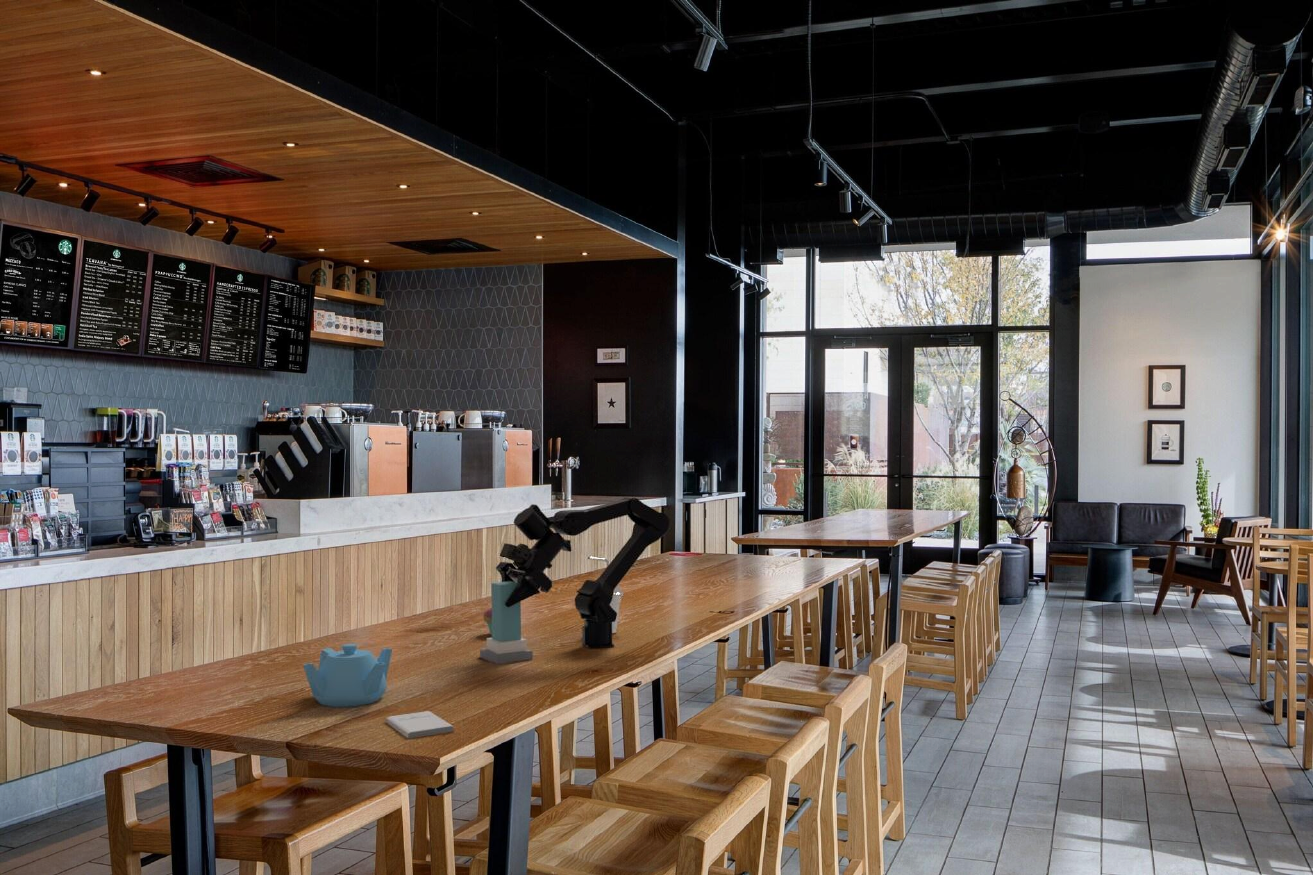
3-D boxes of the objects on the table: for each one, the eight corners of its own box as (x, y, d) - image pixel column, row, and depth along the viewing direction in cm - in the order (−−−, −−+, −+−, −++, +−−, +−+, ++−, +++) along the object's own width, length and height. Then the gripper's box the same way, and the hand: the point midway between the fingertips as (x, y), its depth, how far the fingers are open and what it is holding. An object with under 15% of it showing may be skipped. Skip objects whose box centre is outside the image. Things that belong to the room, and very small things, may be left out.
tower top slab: (514, 645, 251) (514, 635, 251) (526, 650, 245) (526, 639, 245) (486, 648, 247) (486, 638, 248) (498, 653, 241) (498, 642, 242)
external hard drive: (407, 742, 180) (386, 725, 191) (454, 734, 184) (430, 718, 195) (407, 732, 180) (386, 716, 191) (454, 725, 184) (430, 709, 195)
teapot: (396, 689, 216) (396, 636, 216) (385, 707, 201) (385, 650, 201) (318, 691, 214) (318, 638, 214) (302, 710, 199) (301, 653, 199)
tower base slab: (514, 655, 252) (514, 644, 252) (532, 661, 245) (532, 650, 245) (480, 659, 247) (480, 649, 247) (497, 666, 240) (497, 655, 240)
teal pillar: (511, 636, 250) (510, 581, 250) (521, 639, 246) (520, 583, 246) (492, 638, 247) (491, 582, 247) (501, 642, 243) (500, 585, 243)
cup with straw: (620, 635, 274) (620, 557, 274) (586, 634, 275) (586, 557, 275) (626, 629, 282) (626, 554, 282) (593, 628, 284) (593, 553, 284)
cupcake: (499, 638, 271) (499, 591, 271) (476, 634, 276) (476, 588, 276) (523, 633, 278) (522, 587, 278) (500, 629, 283) (499, 584, 283)
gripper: (503, 528, 256) (460, 577, 250) (539, 533, 241) (496, 586, 235) (532, 558, 261) (491, 607, 254) (570, 565, 245) (528, 618, 239)
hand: (500, 604), depth 245 cm, fingers open, 6 cm apart
